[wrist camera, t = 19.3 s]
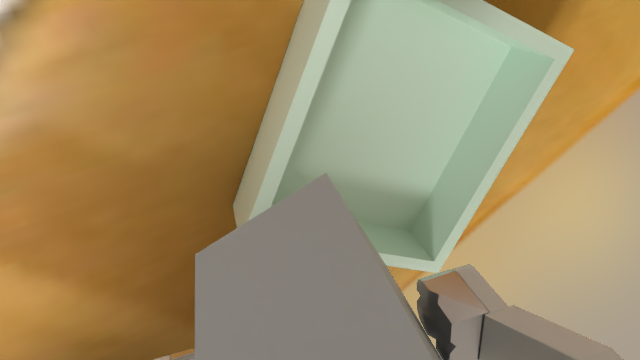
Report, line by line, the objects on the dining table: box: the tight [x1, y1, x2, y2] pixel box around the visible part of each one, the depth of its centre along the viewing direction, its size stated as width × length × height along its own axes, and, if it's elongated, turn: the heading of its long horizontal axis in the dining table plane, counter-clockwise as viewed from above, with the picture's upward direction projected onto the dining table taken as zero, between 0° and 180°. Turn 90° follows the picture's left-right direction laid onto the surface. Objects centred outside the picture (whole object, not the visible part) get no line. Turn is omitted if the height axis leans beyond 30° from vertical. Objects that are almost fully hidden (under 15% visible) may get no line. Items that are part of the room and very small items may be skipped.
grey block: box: [195, 173, 442, 360], centre depth 10 cm, size 4×4×7 cm
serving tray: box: [233, 0, 575, 273], centre depth 27 cm, size 18×16×5 cm
